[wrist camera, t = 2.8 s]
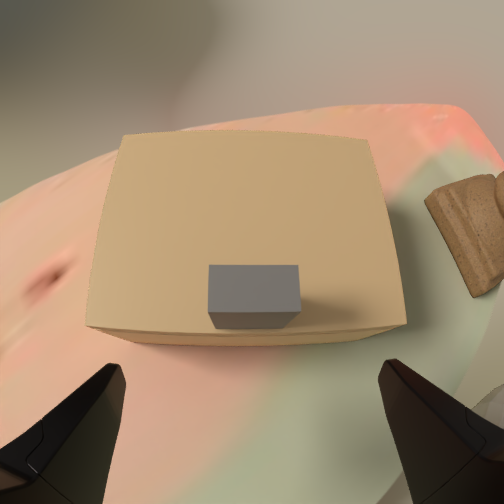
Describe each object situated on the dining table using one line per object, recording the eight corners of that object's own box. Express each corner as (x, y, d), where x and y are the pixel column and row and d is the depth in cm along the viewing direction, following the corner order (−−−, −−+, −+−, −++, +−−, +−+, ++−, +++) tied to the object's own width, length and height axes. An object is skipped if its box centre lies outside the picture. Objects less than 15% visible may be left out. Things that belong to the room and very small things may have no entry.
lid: (397, 326, 14) (454, 305, 10) (93, 328, 14) (39, 307, 9) (362, 149, 19) (388, 96, 14) (127, 145, 18) (107, 89, 14)
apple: (467, 478, 15) (514, 490, 9) (431, 439, 17) (483, 449, 11) (509, 411, 18) (556, 408, 11) (479, 366, 20) (531, 356, 13)
